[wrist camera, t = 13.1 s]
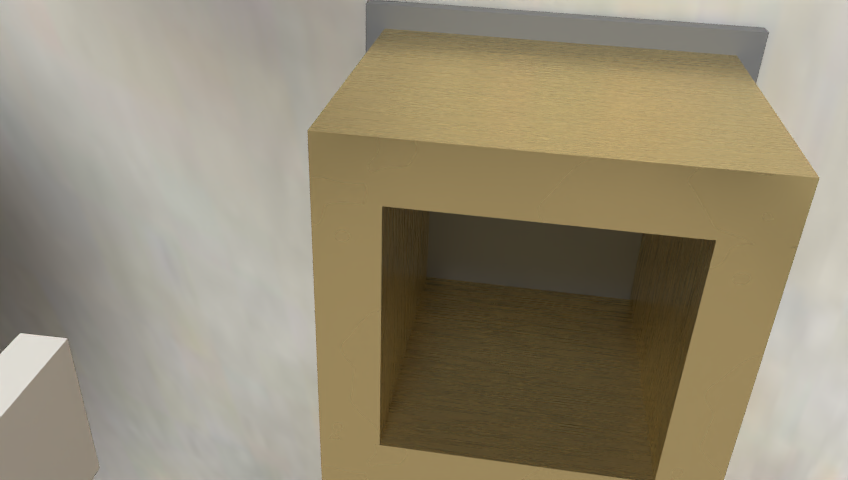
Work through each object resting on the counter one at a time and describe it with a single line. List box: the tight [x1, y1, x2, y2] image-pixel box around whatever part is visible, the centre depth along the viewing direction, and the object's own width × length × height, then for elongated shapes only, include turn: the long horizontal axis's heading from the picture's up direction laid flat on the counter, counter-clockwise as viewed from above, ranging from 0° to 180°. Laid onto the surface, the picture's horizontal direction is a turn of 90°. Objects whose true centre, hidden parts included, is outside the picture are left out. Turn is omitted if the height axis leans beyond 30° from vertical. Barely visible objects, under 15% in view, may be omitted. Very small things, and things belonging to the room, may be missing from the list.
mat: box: [366, 0, 769, 300], centre depth 20 cm, size 9×9×1 cm
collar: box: [308, 29, 819, 480], centre depth 17 cm, size 8×8×6 cm
